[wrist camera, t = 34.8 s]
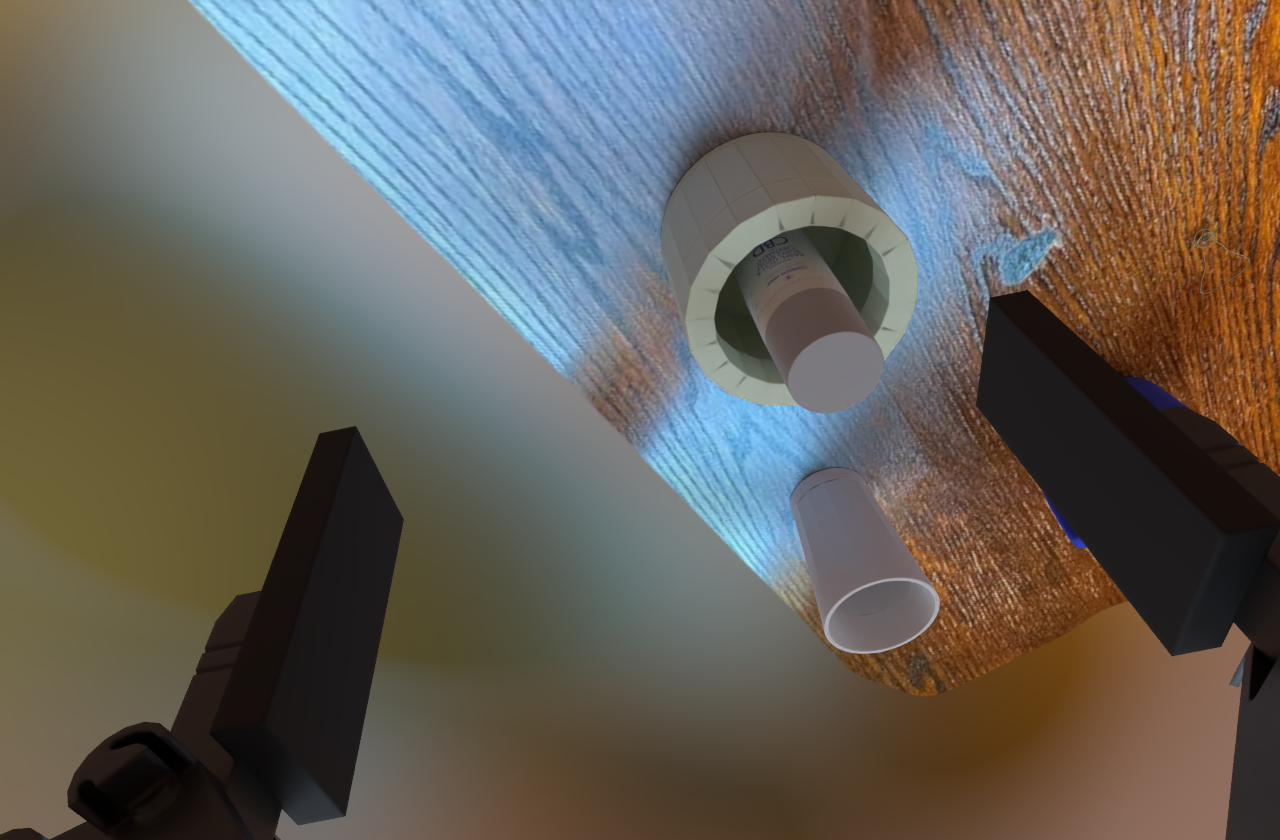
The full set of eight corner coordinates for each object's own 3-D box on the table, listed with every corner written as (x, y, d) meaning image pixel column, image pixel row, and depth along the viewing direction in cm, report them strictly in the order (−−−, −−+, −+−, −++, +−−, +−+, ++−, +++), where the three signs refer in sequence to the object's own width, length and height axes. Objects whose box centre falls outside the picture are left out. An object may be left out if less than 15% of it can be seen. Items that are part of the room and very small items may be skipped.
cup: (823, 445, 58) (879, 563, 49) (897, 481, 61) (964, 598, 52) (759, 513, 62) (800, 635, 52) (832, 544, 65) (883, 664, 55)
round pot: (625, 199, 45) (644, 275, 37) (813, 90, 42) (877, 147, 34) (711, 347, 52) (743, 438, 44) (878, 261, 49) (944, 341, 41)
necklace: (1206, 223, 50) (1215, 229, 49) (1248, 261, 52) (1258, 267, 51) (1163, 263, 51) (1172, 269, 51) (1206, 298, 54) (1215, 305, 53)
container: (758, 184, 44) (839, 310, 32) (813, 229, 46) (908, 362, 34) (705, 246, 46) (763, 385, 34) (760, 286, 48) (833, 431, 36)
